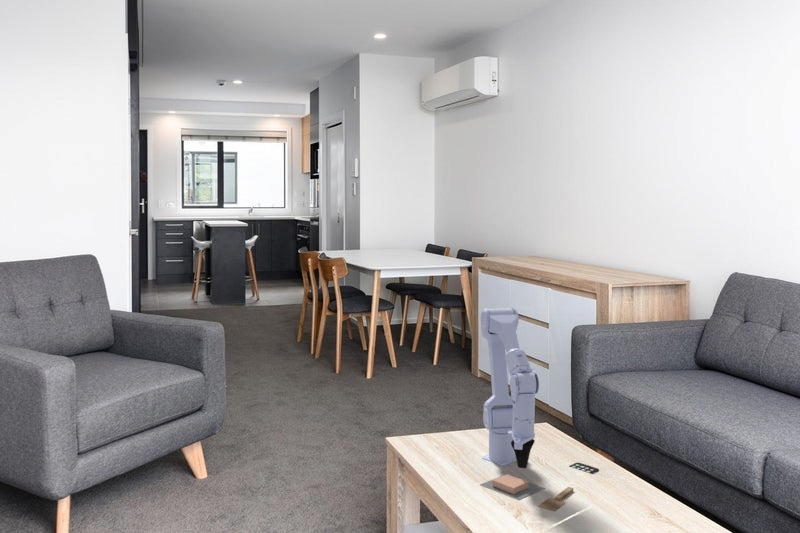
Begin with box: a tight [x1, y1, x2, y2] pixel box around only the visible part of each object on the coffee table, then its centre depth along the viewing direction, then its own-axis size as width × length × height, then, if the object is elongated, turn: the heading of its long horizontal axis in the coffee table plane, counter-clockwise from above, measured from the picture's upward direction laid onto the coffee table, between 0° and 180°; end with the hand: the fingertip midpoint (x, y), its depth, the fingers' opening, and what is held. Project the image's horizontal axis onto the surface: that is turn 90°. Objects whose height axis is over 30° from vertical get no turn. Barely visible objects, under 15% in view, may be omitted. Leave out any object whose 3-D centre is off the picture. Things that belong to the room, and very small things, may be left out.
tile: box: [492, 473, 529, 494], centre depth 186 cm, size 2×7×6 cm
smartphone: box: [568, 462, 599, 475], centre depth 197 cm, size 7×1×15 cm
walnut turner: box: [537, 486, 574, 512], centre depth 179 cm, size 14×4×1 cm, turn 142°
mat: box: [479, 473, 546, 501], centre depth 187 cm, size 11×13×1 cm
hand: (522, 467), depth 189 cm, fingers closed
